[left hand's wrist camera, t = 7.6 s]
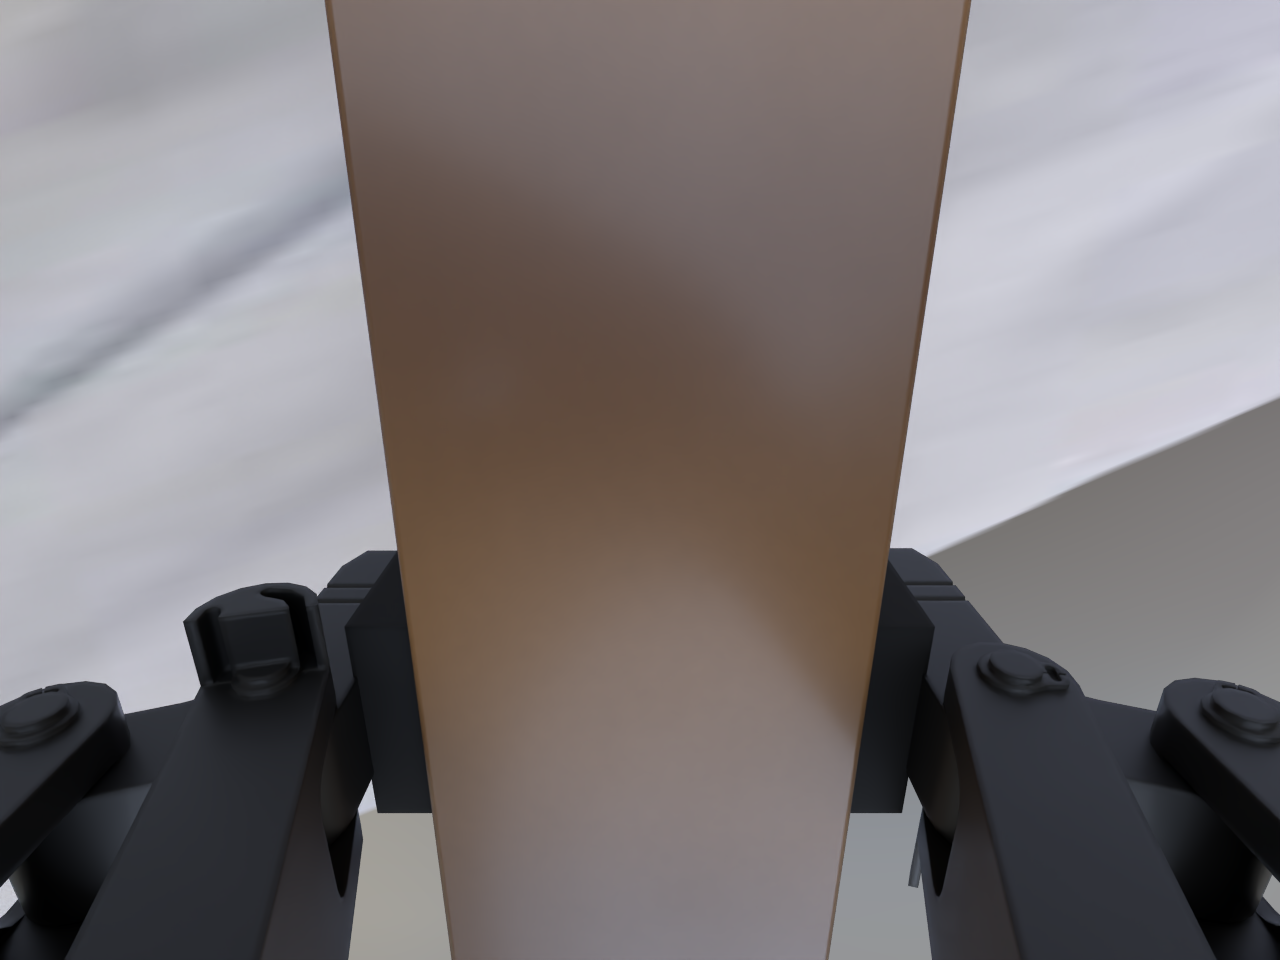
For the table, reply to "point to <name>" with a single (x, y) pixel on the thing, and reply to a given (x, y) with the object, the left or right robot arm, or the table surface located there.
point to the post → (644, 437)
